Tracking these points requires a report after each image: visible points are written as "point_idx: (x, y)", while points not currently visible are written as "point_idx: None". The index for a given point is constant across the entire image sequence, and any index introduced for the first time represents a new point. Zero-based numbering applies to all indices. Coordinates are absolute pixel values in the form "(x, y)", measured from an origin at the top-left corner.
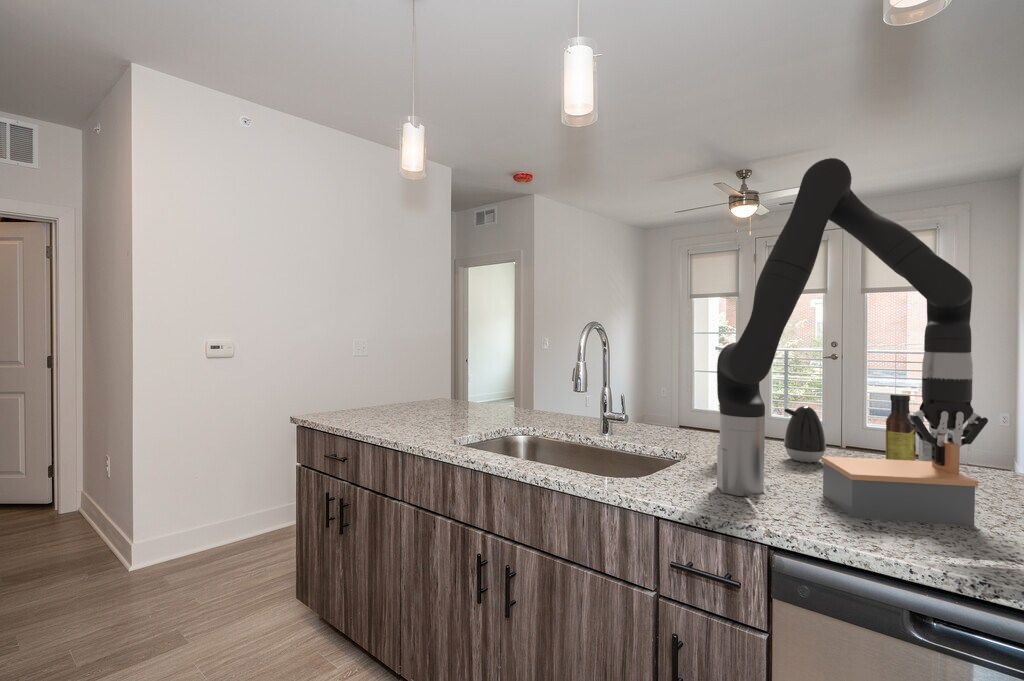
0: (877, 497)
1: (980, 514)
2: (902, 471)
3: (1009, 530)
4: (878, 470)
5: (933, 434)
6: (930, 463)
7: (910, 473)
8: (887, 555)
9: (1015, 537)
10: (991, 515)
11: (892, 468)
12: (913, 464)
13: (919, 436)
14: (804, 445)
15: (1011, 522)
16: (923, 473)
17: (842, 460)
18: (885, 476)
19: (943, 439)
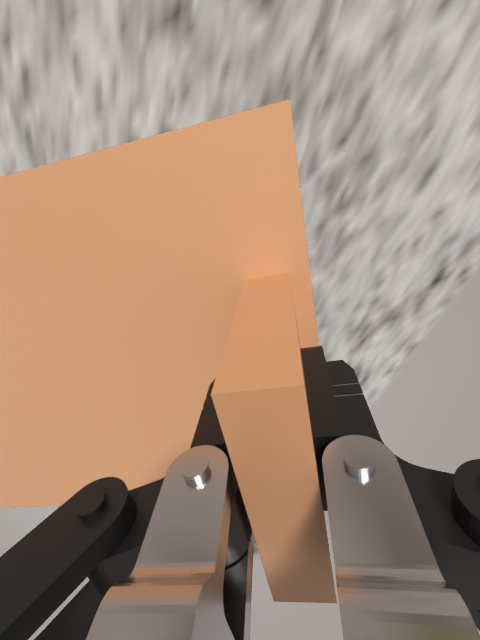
0: None
1: (418, 201)
2: (91, 438)
3: (404, 344)
4: (12, 448)
5: (169, 568)
6: (262, 193)
7: (117, 458)
8: None
9: (382, 391)
10: (454, 198)
11: (55, 402)
12: (151, 275)
13: (52, 534)
14: None
15: (470, 263)
16: (163, 447)
17: None
18: (42, 504)
19: (241, 595)
